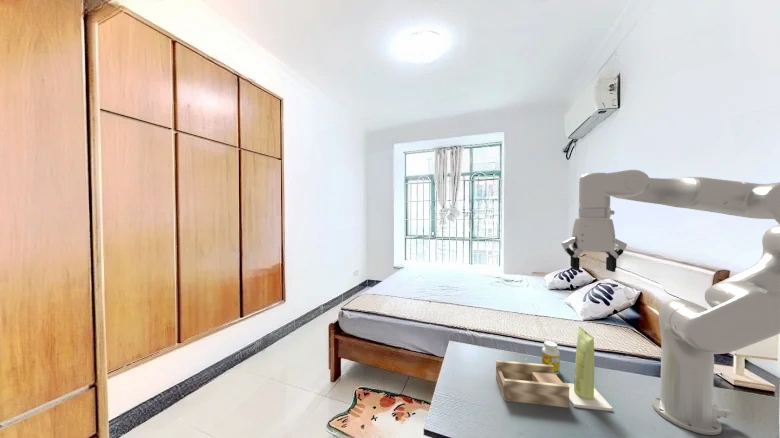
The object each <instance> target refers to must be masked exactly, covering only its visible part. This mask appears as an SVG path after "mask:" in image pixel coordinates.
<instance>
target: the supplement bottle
mask: <svg viewBox="0 0 780 438" xmlns="http://www.w3.org/2000/svg"><path fill="white" fill-rule="evenodd" d="M560 358H561V357H560V351H559V350H558V344H557V343H556V342H554V341H550V340H545V341H543V347H542V348H541V364H546V365H553V367H554V373H555V374H556V375H559V374H560V372H561V371H560V368H561V367H560V366H561V365H560V364H561V363H560V361H561V360H560Z"/></svg>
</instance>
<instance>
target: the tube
mask: <svg viewBox="0 0 780 438" xmlns="http://www.w3.org/2000/svg"><path fill="white" fill-rule="evenodd" d="M594 339H595V338H594V336H593V335H591V334H590V333H589V332H588V331H586V330H585V329H584V328H583V327H581V326H580V325H578V330H577V338H576V340H577V341H576V351H575V363H574V377H573V378H574V379H573V380H574V381H573V384H574V392H575V393H576V394H577V395H579V396H580V397H583V398H586V399H592V398H594V388H595V340H594Z"/></svg>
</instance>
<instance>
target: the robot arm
mask: <svg viewBox="0 0 780 438" xmlns="http://www.w3.org/2000/svg"><path fill="white" fill-rule="evenodd" d="M578 183H579V184H578V218H575V219H574V223H573V227H572V234H571V237H570V238H569V239H566V240H564V241H561V246H562V249H564V252H565V253H567V255H568V256H569V257H570V267H571V269H572V270H574V271H575V272H578V271H580V257H579V256H580V254H582V252H585V253H587V252H589V253H605V254H606V255H607V256H606V258H605V259H606V260H605V261H606V263H605V270H607V271H609V272H612V273H615V272H616V269H617V259H620V258H619V257H620V256H621V255H622V254H624V251H625V249H626V247H627V246H628V243H626V242H623V241H622V240H621V239H620V240H619V239H617V238H616V230H615V225H614V221H613V219H612V218H611V216H614V215H615V210H611V197H612V198H616V199H621V200H626V201H627V200H628V201H634V202H640V203H648V204H655V205H663V206H668V207H673V208H674V207H675V208H681V209H689V210H694V211H703V212H709V213H716V214H720V215H721V214H723V215H728V216H734V217H735V216H736V217H741V218H746V219H747V218H749V219H756V220H758V219H759V220H775V221H776V222H777V223H778V224H776V225H774V226H772V227H770V228H768V229H767V230H766V231H765V232H764V234H763V235H762V239H761V242H762V243H761V244H762V255H761V258H760V259H759V261H758V262H756V263H755V264H753V265H752V266H750V267H749V268H746V269H745V270H742V271H740V272H738V273H736V274H734V275H732V276H730V277H728V278H726V279H724V280H721V281H719V282H717V283H715V284H713V285H711V286H710V287H708V288H707V289H706V290H705V292H704V299H705V302H706V304H708V306H710V307H711V308H709V309H707V308H706V307H704V306H702V305H700V304H698V303H696V302H692V301H689V300H685V299H672V300H669V301H667V302H665V303H663V304H662V305H661V307H660V309H659V312H658V323H659V329H660V330H659V331H660V338H661V339H660V340H661V351H660V352H661V353H660V380H659V381H660V384H659V386H660V387H659V388H660V389H659V396H656V397H654V398H652V403H651V404H652V407H653V409H654V411H656V412H657V414H658V415H660V416H662V418H664V419H666V420H667V421H669V422H670V423H672V424H675V425H676V426H678V427H680V428H682V429H685V430H687V431H690V432H693V433H696V434H701V435H705V436H717V435H720V434H721V433H722V428H723V427H722V424H721V422H720V421H719V420H718V419H721V418H723V419H724V418H727V419H735V414H734V412H733V411H732V410H731V409H725V408H719V407H718V405H717V404H716V403H714V402H713V401H714V374H715V372H714V371H715V355H721V354H722V355H723V354H729V353H733V352H736V351H739V350H741V349H744V348H746V347H750V346H751V345H754V344H757V343H759V342H762V341H765V340H767V339H771V338H772V337H775V336H778V335H780V182H774V183H773V182H771V183H755V182H754V183H753V182H746V181H735V180H727V179H719V178H711V177H702V176H687V177H675V178H673V177H672V178H671V177H670V178H658V177H657V178H656V177H649V175H648V174H647V173H646V172H644V171H643V170H638V169H626V170H621V171H619V170H618V171H613V172H590V173H585V174H584V173H583V174H582V175H580V177H579V182H578ZM570 245H571V248H572V249H571V248H570ZM616 245H617V248H616Z"/></svg>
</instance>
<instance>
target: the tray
mask: <svg viewBox="0 0 780 438" xmlns="http://www.w3.org/2000/svg"><path fill="white" fill-rule="evenodd" d="M532 372H539V373H554V367H553V365H546V364H542V363H533V362H521V361H511V360H510V361H509V360H497V359H496V360H495V378H496V382H497V384H498V387H499V390H500V392H501V396H502V397H503V400H504V401H506V402H515V403H525V404H532V405H533V404H534V405H542V406H549V407H550V406H551V407H559V408H560V407H561V408H570V401H569V386H568V385H564V384H554V383H544V382H534V381H532Z"/></svg>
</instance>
